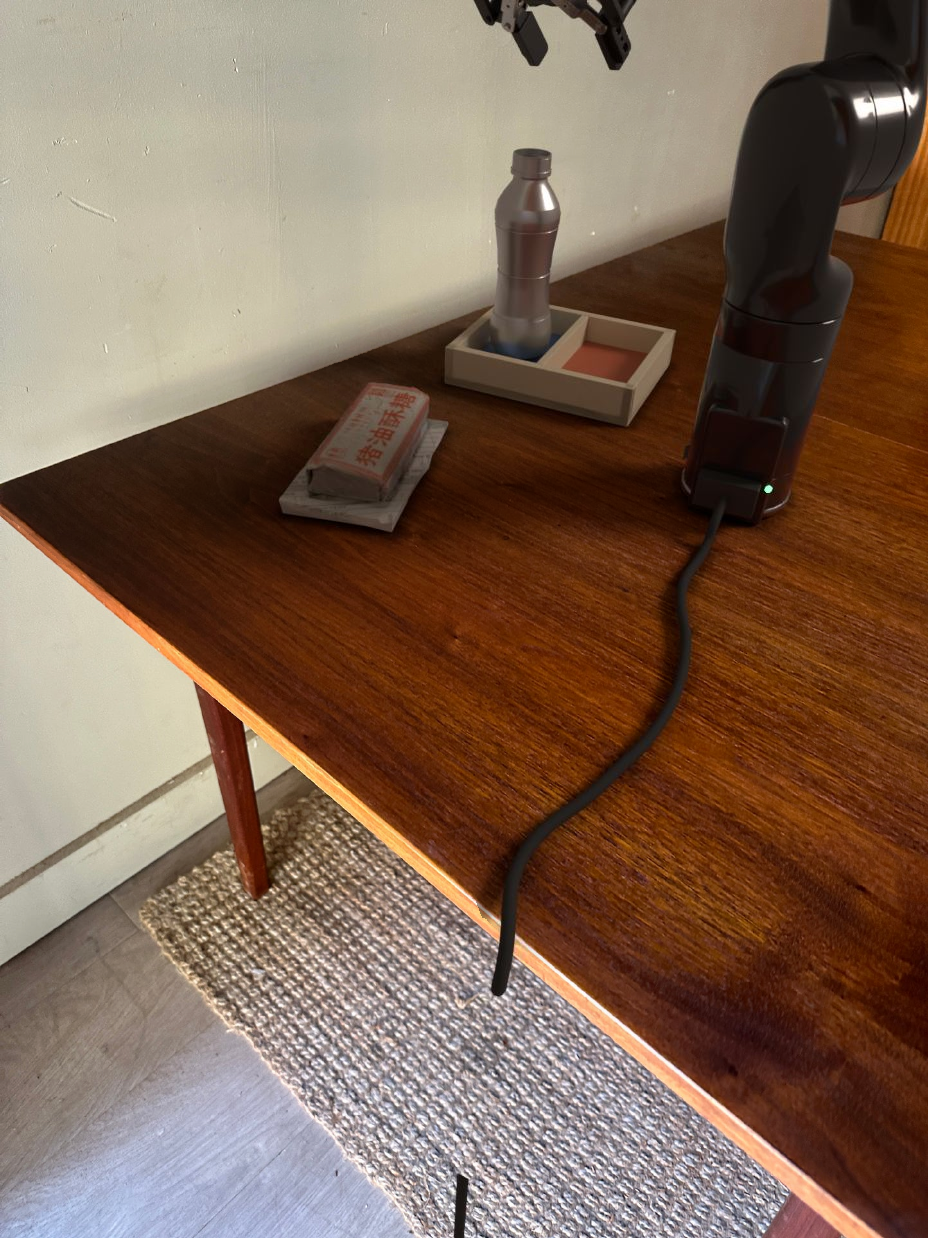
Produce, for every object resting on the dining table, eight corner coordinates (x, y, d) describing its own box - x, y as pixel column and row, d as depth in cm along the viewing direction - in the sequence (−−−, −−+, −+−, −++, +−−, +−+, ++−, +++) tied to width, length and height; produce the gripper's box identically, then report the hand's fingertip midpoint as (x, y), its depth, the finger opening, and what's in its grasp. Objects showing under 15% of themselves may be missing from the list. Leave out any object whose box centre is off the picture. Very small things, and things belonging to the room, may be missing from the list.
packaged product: (348, 371, 86) (449, 386, 85) (350, 417, 89) (448, 432, 88) (272, 466, 73) (392, 485, 71) (278, 516, 76) (393, 536, 74)
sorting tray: (627, 426, 90) (633, 389, 87) (444, 383, 96) (445, 346, 93) (669, 364, 101) (676, 329, 98) (503, 329, 107) (505, 295, 104)
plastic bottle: (544, 369, 96) (563, 164, 83) (481, 361, 97) (490, 157, 84) (553, 345, 101) (573, 147, 88) (494, 337, 102) (504, 141, 89)
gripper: (396, -82, 67) (494, 92, 81) (544, -95, 59) (627, 102, 72) (447, -165, 68) (537, 22, 81) (601, -189, 60) (673, 23, 73)
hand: (579, 60), depth 77 cm, fingers open, 8 cm apart
